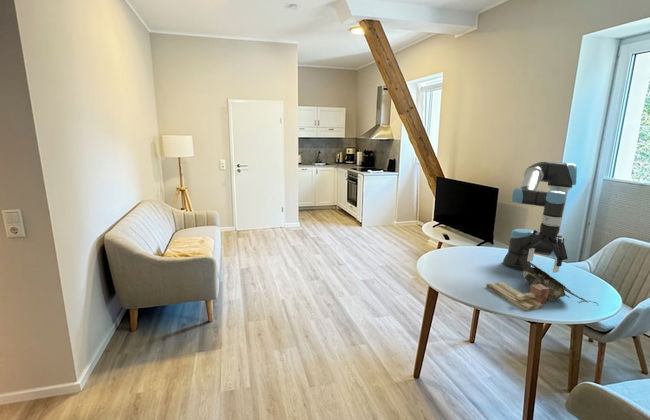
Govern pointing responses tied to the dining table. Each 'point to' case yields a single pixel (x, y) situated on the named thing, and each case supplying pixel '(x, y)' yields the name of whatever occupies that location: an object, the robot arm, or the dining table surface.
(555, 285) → the hollow geode rock
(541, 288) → the brown block with handle
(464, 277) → the dining table surface
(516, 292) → the board
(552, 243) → the robot arm
